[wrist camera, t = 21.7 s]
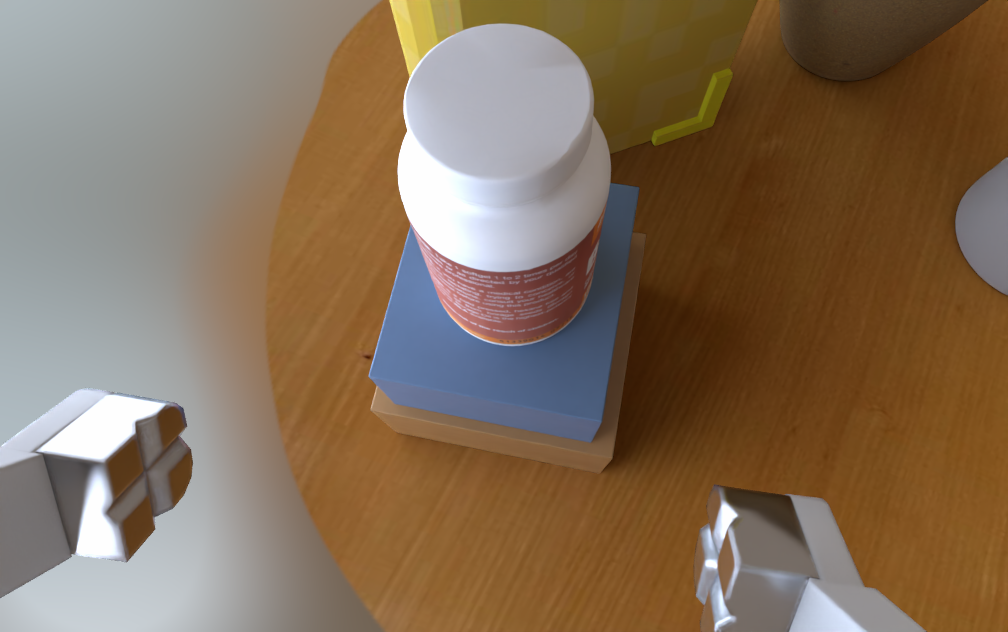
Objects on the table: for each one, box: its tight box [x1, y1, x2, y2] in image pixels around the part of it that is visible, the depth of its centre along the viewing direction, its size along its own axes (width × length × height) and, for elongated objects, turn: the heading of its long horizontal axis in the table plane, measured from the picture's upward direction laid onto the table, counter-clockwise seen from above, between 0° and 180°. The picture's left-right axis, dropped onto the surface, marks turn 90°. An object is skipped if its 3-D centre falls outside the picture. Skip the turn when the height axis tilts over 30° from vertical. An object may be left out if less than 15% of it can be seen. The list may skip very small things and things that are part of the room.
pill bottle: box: [398, 24, 611, 346], centre depth 21 cm, size 6×6×11 cm
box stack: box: [369, 183, 646, 474], centre depth 32 cm, size 11×11×11 cm
